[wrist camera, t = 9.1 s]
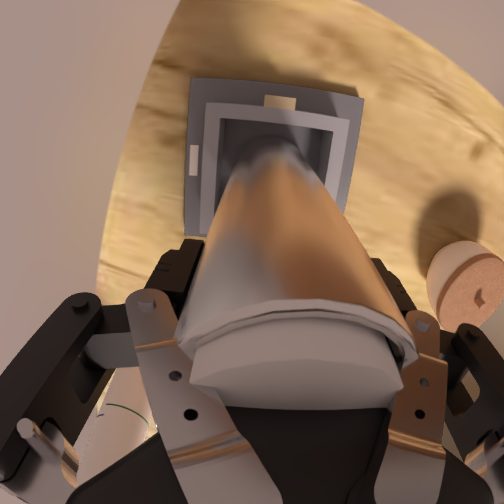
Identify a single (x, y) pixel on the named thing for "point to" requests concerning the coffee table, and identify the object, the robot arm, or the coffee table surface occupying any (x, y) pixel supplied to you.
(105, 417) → the cylindrical container
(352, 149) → the socket
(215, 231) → the silver metal cylinder
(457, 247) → the lidded jar
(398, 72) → the coffee table surface
